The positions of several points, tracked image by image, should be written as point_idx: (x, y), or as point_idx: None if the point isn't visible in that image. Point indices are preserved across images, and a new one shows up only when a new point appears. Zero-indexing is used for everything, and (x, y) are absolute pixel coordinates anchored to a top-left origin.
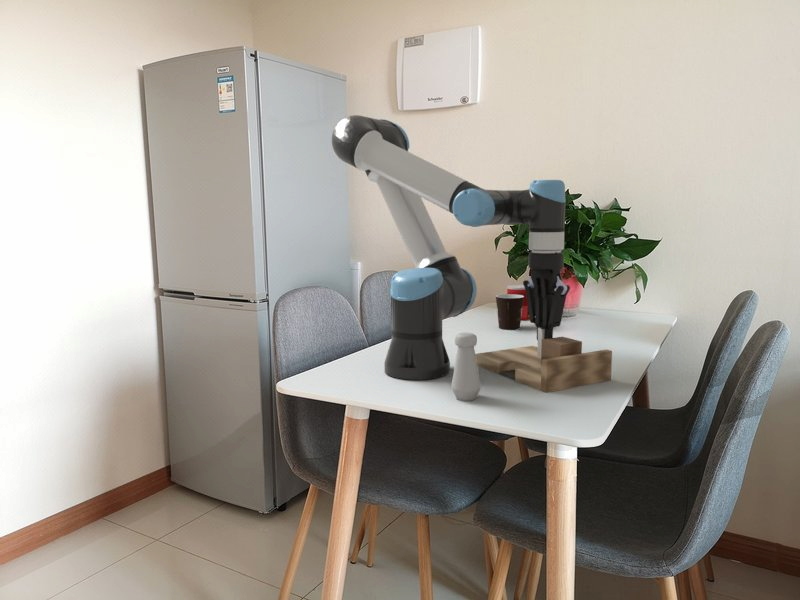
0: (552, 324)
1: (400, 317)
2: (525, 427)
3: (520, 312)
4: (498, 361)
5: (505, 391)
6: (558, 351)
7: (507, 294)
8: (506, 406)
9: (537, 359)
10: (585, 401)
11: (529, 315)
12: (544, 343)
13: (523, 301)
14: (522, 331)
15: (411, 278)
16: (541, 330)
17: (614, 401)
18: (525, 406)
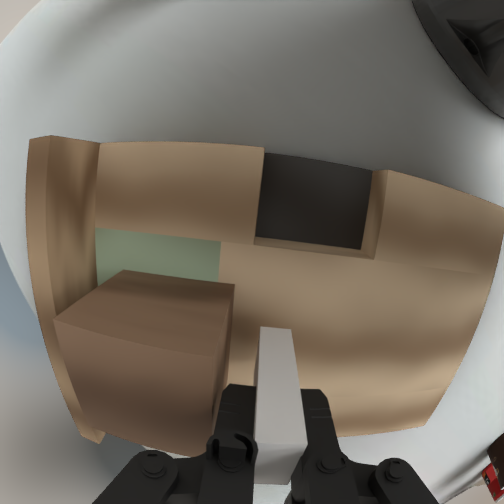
0: (128, 466)
1: None
2: (35, 10)
3: (496, 469)
4: (407, 190)
5: (185, 47)
6: (86, 304)
7: None
8: (105, 5)
9: (321, 347)
10: (24, 192)
11: (428, 492)
12: (188, 340)
13: (498, 482)
14: (480, 450)
15: None
16: (264, 432)
17: (9, 248)
18: (76, 41)
